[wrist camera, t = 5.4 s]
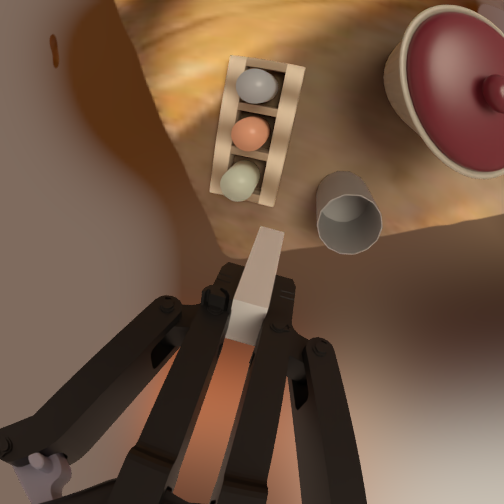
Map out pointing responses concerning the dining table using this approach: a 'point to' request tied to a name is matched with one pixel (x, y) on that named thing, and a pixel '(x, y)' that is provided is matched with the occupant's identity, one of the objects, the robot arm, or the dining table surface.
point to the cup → (347, 213)
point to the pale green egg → (240, 180)
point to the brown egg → (250, 133)
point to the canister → (452, 88)
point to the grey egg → (256, 86)
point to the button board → (283, 113)
